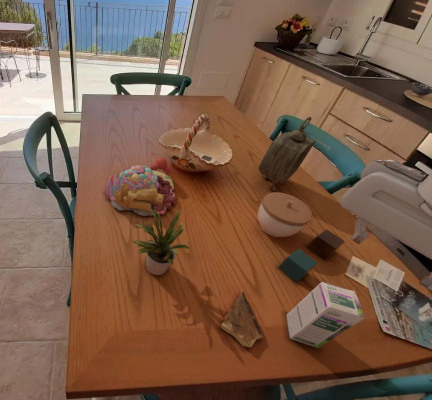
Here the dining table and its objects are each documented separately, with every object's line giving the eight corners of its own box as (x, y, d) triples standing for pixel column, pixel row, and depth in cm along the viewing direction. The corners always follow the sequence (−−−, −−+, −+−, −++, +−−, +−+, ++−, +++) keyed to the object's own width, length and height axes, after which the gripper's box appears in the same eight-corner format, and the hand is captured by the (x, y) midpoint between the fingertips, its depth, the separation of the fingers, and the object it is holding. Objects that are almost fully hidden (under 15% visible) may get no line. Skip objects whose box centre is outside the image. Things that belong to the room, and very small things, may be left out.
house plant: (142, 233, 77) (151, 190, 66) (189, 253, 72) (207, 211, 61) (120, 270, 67) (126, 227, 56) (172, 296, 63) (189, 255, 52)
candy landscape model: (181, 219, 82) (189, 197, 76) (104, 216, 81) (105, 193, 75) (169, 171, 100) (174, 149, 94) (106, 168, 99) (107, 146, 93)
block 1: (306, 273, 70) (317, 262, 66) (296, 282, 68) (306, 271, 64) (289, 259, 73) (298, 248, 69) (278, 267, 71) (287, 256, 67)
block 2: (333, 252, 76) (345, 241, 72) (324, 259, 74) (336, 248, 70) (316, 240, 79) (326, 229, 75) (307, 246, 77) (317, 235, 73)
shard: (240, 294, 64) (243, 290, 63) (272, 317, 61) (276, 314, 59) (218, 326, 58) (221, 322, 57) (252, 354, 55) (255, 350, 53)
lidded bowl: (267, 247, 76) (286, 220, 68) (242, 215, 85) (257, 188, 77) (304, 241, 78) (327, 215, 70) (277, 211, 87) (295, 185, 80)
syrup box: (289, 339, 57) (330, 308, 47) (285, 313, 61) (322, 280, 52) (318, 349, 56) (366, 319, 46) (312, 322, 60) (355, 289, 50)
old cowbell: (274, 195, 93) (314, 129, 76) (249, 182, 98) (283, 117, 81) (291, 179, 100) (331, 116, 84) (267, 168, 105) (301, 106, 88)
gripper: (367, 158, 38) (312, 224, 47) (608, 267, 25) (468, 328, 34) (386, 147, 40) (330, 212, 49) (613, 242, 28) (481, 305, 37)
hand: (388, 261), depth 42 cm, fingers open, 8 cm apart
